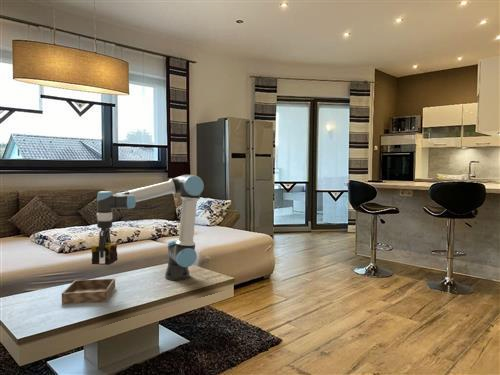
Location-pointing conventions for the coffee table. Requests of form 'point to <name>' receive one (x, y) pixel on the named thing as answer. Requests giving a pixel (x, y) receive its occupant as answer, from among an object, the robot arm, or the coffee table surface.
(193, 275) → the coffee table surface
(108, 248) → the candle
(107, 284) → the crate
